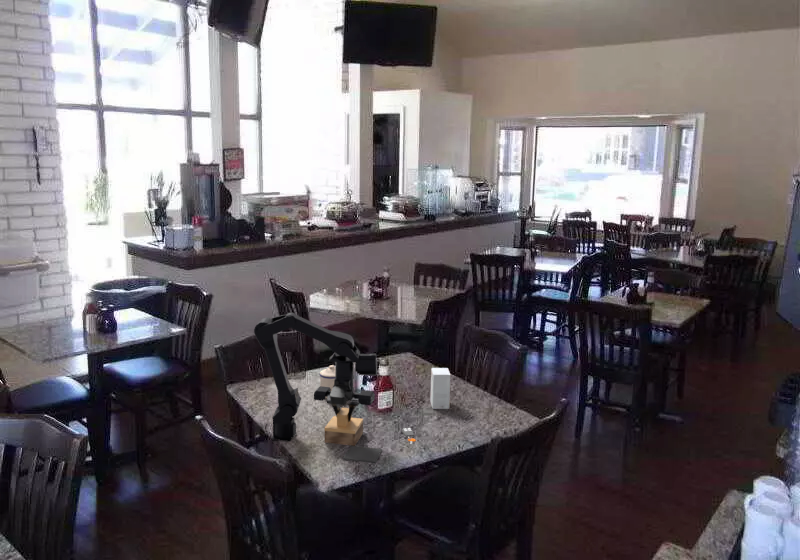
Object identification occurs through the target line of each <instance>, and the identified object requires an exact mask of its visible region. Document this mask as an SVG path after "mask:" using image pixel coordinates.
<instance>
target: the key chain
mask: <svg viewBox="0 0 800 560" xmlns="http://www.w3.org/2000/svg"><path fill="white" fill-rule="evenodd" d="M401 432H402V435H404V437H405V438H408V439H407V441H408V442H409V444H410V445H412V444H413V443H414V442H416V439H415V438H414V437H415V434H414V431H413V429H412V428H411V427H403V428H402V429H401Z"/></svg>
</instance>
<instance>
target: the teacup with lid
mask: <svg viewBox="0 0 800 560" xmlns="http://www.w3.org/2000/svg"><path fill="white" fill-rule="evenodd" d="M319 379H320V382H319V385H320V386H322V387H330V388H331V391H332V389H333V386H334V380H335V365H334V364H332V365H329V366H328V367H327V368H325V369H321V371H320V372H319ZM320 386H319V387H320ZM325 399H327V397H326V398H325ZM325 399H324V400H325Z"/></svg>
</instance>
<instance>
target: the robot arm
mask: <svg viewBox="0 0 800 560" xmlns="http://www.w3.org/2000/svg"><path fill="white" fill-rule="evenodd" d="M288 329H292V330H294V331H297V332H298V333H301V334H303V335H305V336H308V337H309V338H312V339H314V340H316V341H318V342H321V343H323V344H324V345H326V346H327V347H328V348H329V349H330V350H331V352H334V353H333V354H332V355H331V356H330V357H329V360H328V361H329V362H330V363H335V365H334V368H335V380H334V386H333V389H332V391H331V388H330V387H322V386H319V387H317V389H316V390H315V391H314V392H313V400H314V401H325V398H326V397H327V400H326V403H327V404H328V405H330V406H332V409H333V411H334V414H335V416H336V417H337V414H338V413H339V411H340V410H341V406H344V405H346V404H347V402H349V401H350V402H349V403H348V408H349V414H348V422H350V420H351V418H353V414H354V412H355V410H356V407H358V406H359V405H364V406H371V405H372V404H373V402H374V400H375V395H376V394H375V392H374V391H373V390H365V389H364V390H361V392H360V393H358V392H357V393H356V392H354V391H355V387H354V379H355V375H354V370H355V373H356V374H358V376H377V368H378V361H377V353H361V351H360V349H359V348H358V347H357V346H356V344H355V339H354V337H353V336H352V335H351V334H349V333H345V332H341V331H336V330H330V329H328V328H325V327H323V326H321V325H318V324H317V323H315V322H312V321H310V320H308V319H307V318H303V317H301V316H300V315H297V314H296V312H288V313H286V314H282V315H278V316H275V317H274V316H273V317H272V318H271V317H263V318H261V319H260V320H259V321H258V322H257V324H256V325H255V327H254V329H253V333H254V336H255V338H256V340H257V341H258V344H259V345H260V347H262V349H263V351H265V355H266V359H267V361H268V364H269V368H270V370H271V371H270V372H271V374H272V377H273V378H272V379H273V381H274V383H275V386H276V390H277V403H278V406H277V407H276V409H275V411H274V413H273V416H272V417H271V418H272V419H271V420H272V436H271V437H270V439H271V440H275V441H284V442H291V441H292V439H293V438H294V437H295V436H296V435H297V422H295V416H296V415H297V413H298V410H299V407H300V405H301V401H302V397H301V396H300V393H299V388H298V387H296V388H294V387H292V385H291V383H290V380H289V377H288V373H287V371H286V367H285V364H284V361H283V357H282V355H281V352H280V347H279V344H278V333H281V332H284V331H285V330H288ZM354 363H355V364H354ZM354 365H355V366H354ZM354 367H355V369H354Z"/></svg>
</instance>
